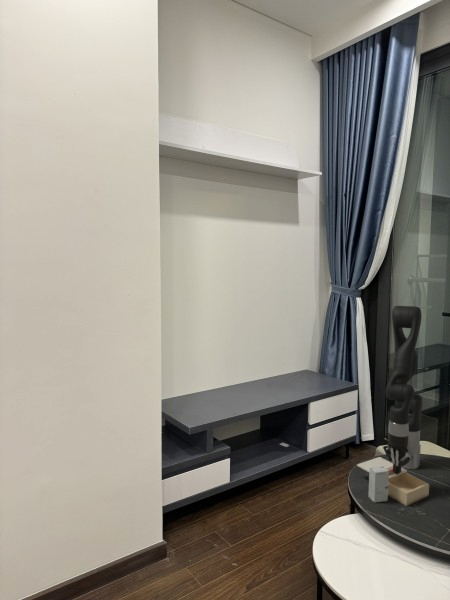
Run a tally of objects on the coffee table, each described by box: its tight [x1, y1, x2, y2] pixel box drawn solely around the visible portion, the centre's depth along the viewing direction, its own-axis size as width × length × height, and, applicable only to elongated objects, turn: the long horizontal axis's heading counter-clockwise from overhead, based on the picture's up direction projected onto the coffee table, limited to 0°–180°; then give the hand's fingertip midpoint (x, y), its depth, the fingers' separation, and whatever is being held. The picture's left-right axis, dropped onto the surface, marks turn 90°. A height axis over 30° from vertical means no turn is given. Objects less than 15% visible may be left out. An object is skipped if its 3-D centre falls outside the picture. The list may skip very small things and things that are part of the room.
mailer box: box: [388, 472, 430, 507], centre depth 170 cm, size 14×14×5 cm
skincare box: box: [368, 466, 389, 503], centre depth 165 cm, size 6×4×12 cm
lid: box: [356, 456, 408, 479], centre depth 178 cm, size 14×14×3 cm
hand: (396, 473), depth 172 cm, fingers closed
